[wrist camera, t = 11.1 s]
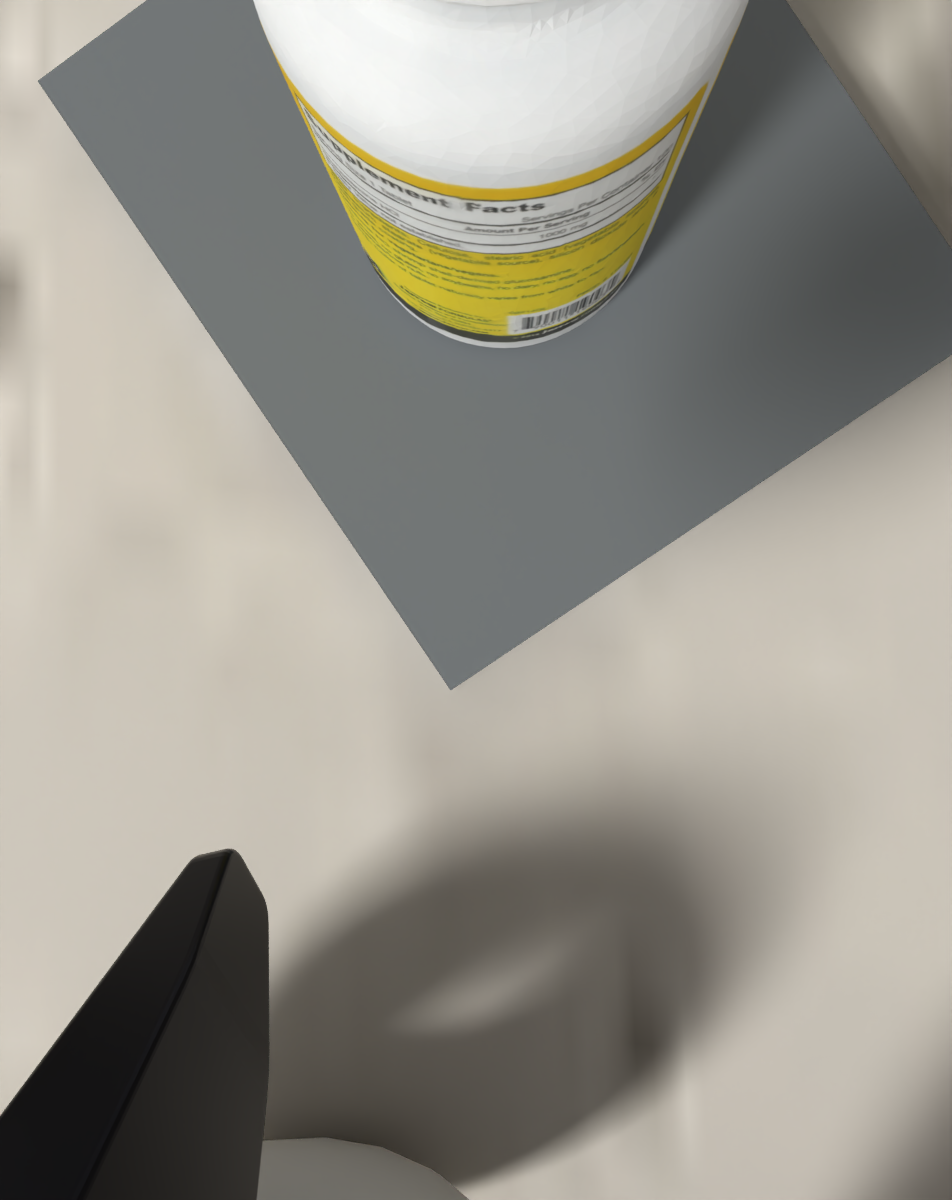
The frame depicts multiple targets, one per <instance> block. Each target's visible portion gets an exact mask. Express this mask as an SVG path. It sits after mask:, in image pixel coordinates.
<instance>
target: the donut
mask: <svg viewBox="0 0 952 1200" xmlns="http://www.w3.org/2000/svg"><path fill="white" fill-rule="evenodd" d="M257 1200H469V1199H468V1198H467V1197H466V1196H464V1195H463V1194H462V1193H461V1192H460V1191H459V1190H457V1189H456V1188H455V1187H454V1186H453V1185H452V1184H450V1183H449V1182H448V1181H447V1180H446V1179H445V1178H443V1177H442V1176H441V1175H439V1174H438V1173H436V1172H435V1171H433V1170H432V1169H430V1168H428V1167H425V1166H423V1165H421V1164H419V1163H416V1162H414V1161H412V1160H410V1159H407V1158H405V1157H403V1156H401V1155H399V1154H396V1153H394V1152H392V1151H390V1150H387V1149H385V1148H383V1147H379V1146H374V1145H368V1144H362V1143H356V1142H350V1141H344V1140H338V1139H332V1138H326V1137H321V1138H303V1139H285V1140H266V1141H263V1144H262V1154H261V1164H260V1174H259V1184H258V1194H257Z"/></svg>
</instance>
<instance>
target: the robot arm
mask: <svg viewBox="0 0 952 1200" xmlns="http://www.w3.org/2000/svg"><path fill="white" fill-rule="evenodd" d="M268 1078H269V923H268V911H267V906H266V902H265V899H264V897H263V894H262V893H261V891H260V889H259V887H258V885H257V884H256V882H255V880H254V878H253V876H252V875H251V873H250V871H249V869H248V868H247V866H246V864H245V862H244V860H243V859H242V857H241V856H240V854H239V853H238V852H237V851H236V850H234V849H224V850H219V851H215V852H211V853H206V854H202V855H198V856H196V857H194V858H193V859H192V860H191V861H190V862H189V863H188V864H187V865H186V867H185V868H184V869H183V871H182V872H181V873H180V875H179V876H178V878H177V879H176V880H175V882H174V883H173V884H172V886H171V887H170V888H169V890H168V891H167V892H166V894H165V895H164V896H163V898H162V899H161V900H160V902H159V903H158V904H157V906H156V907H155V908H154V910H153V911H152V912H151V914H150V915H149V917H148V918H147V919H146V921H145V922H144V923H143V925H142V926H141V927H140V929H139V930H138V931H137V933H136V934H135V935H134V937H133V938H132V939H131V941H130V942H129V943H128V945H127V946H126V947H125V949H124V950H123V951H122V953H121V954H120V956H119V957H118V958H117V960H116V961H115V962H114V964H113V965H112V966H111V968H110V969H109V970H108V972H107V973H106V974H105V976H104V977H103V978H102V980H101V981H100V982H99V984H98V985H97V986H96V988H95V989H94V990H93V992H92V993H91V994H90V996H89V997H88V999H87V1000H86V1001H85V1003H84V1004H83V1005H82V1007H81V1008H80V1009H79V1011H78V1012H77V1013H76V1015H75V1016H74V1017H73V1019H72V1020H71V1021H70V1023H69V1024H68V1025H67V1027H66V1028H65V1029H64V1031H63V1032H62V1033H61V1035H60V1036H59V1038H58V1039H57V1040H56V1042H55V1043H54V1044H53V1046H52V1047H51V1048H50V1050H49V1051H48V1052H47V1054H46V1055H45V1056H44V1058H43V1059H42V1060H41V1062H40V1063H39V1064H38V1066H37V1067H36V1068H35V1070H34V1071H33V1072H32V1074H31V1075H30V1076H29V1078H28V1079H27V1081H26V1082H25V1083H24V1085H23V1086H22V1087H21V1089H20V1090H19V1091H18V1093H17V1094H16V1095H15V1097H14V1098H13V1099H12V1101H11V1102H10V1103H9V1105H8V1106H7V1107H6V1109H5V1110H4V1111H3V1113H2V1114H1V1115H0V1200H257V1194H258V1184H259V1174H260V1164H261V1154H262V1144H263V1134H264V1123H265V1113H266V1103H267V1092H268Z"/></svg>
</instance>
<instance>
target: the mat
mask: <svg viewBox="0 0 952 1200" xmlns="http://www.w3.org/2000/svg"><path fill="white" fill-rule="evenodd" d="M38 82H39V84H40V85H41V87H42V88H43V90H44V91H45V93H46V94H47V95H48V97H49V98H50V100H51V101H52V103H53V104H54V106H55V107H56V109H57V110H58V112H59V113H60V115H61V116H62V118H63V119H64V121H65V122H66V123H67V125H68V126H69V128H70V129H71V131H72V132H73V134H74V135H75V137H76V138H77V140H78V141H79V143H80V144H81V146H82V147H83V149H84V150H85V152H86V153H87V154H88V156H89V157H90V159H91V160H92V162H93V163H94V165H95V166H96V168H97V169H98V171H99V172H100V174H101V175H102V177H103V178H104V180H105V181H106V183H107V184H108V185H109V187H110V188H111V190H112V191H113V193H114V194H115V196H116V197H117V199H118V200H119V202H120V203H121V205H122V206H123V208H124V209H125V211H126V212H127V213H128V215H129V216H130V218H131V219H132V221H133V222H134V224H135V225H136V227H137V228H138V230H139V231H140V233H141V234H142V236H143V237H144V239H145V240H146V242H147V243H148V244H149V246H150V247H151V249H152V250H153V252H154V253H155V255H156V256H157V258H158V259H159V261H160V262H161V264H162V265H163V267H164V268H165V270H166V271H167V273H168V274H169V275H170V277H171V278H172V280H173V281H174V283H175V284H176V286H177V287H178V289H179V290H180V292H181V293H182V295H183V296H184V298H185V299H186V301H187V302H188V303H189V305H190V306H191V308H192V309H193V311H194V312H195V314H196V315H197V317H198V318H199V320H200V321H201V323H202V324H203V326H204V327H205V329H206V330H207V332H208V333H209V334H210V336H211V337H212V339H213V340H214V342H215V343H216V345H217V346H218V348H219V349H220V351H221V352H222V354H223V355H224V357H225V358H226V360H227V361H228V363H229V364H230V365H231V367H232V368H233V370H234V371H235V373H236V374H237V376H238V377H239V379H240V380H241V382H242V383H243V385H244V386H245V388H246V389H247V391H248V392H249V393H250V395H251V396H252V398H253V399H254V401H255V402H256V404H257V405H258V407H259V408H260V410H261V411H262V413H263V414H264V416H265V417H266V419H267V420H268V422H269V423H270V424H271V426H272V427H273V429H274V430H275V432H276V433H277V435H278V436H279V438H280V439H281V441H282V442H283V444H284V445H285V447H286V448H287V450H288V451H289V452H290V454H291V455H292V457H293V458H294V460H295V461H296V463H297V464H298V466H299V467H300V469H301V470H302V472H303V473H304V475H305V476H306V478H307V479H308V481H309V482H310V483H311V485H312V486H313V488H314V489H315V491H316V492H317V494H318V495H319V497H320V498H321V500H322V501H323V503H324V504H325V506H326V507H327V509H328V510H329V512H330V513H331V514H332V516H333V517H334V519H335V520H336V522H337V523H338V525H339V526H340V528H341V529H342V531H343V532H344V534H345V535H346V537H347V538H348V540H349V541H350V542H351V544H352V545H353V547H354V548H355V550H356V551H357V553H358V554H359V556H360V557H361V559H362V560H363V562H364V563H365V565H366V566H367V568H368V569H369V571H370V572H371V573H372V575H373V576H374V578H375V579H376V581H377V582H378V584H379V585H380V587H381V588H382V590H383V591H384V593H385V594H386V596H387V597H388V599H389V600H390V602H391V603H392V604H393V606H394V607H395V609H396V610H397V612H398V613H399V615H400V616H401V618H402V619H403V621H404V622H405V624H406V625H407V627H408V628H409V630H410V631H411V632H412V634H413V635H414V637H415V638H416V640H417V641H418V643H419V644H420V646H421V647H422V649H423V650H424V652H425V653H426V655H427V656H428V658H429V659H430V661H431V662H432V663H433V665H434V666H435V668H436V669H437V671H438V672H439V674H440V675H441V677H442V678H443V680H444V681H445V683H446V684H447V686H448V687H449V689H450V690H452V689H453V688H455V687H456V686H458V685H459V684H461V683H462V682H464V681H465V680H467V679H468V678H470V677H471V676H473V675H474V674H476V673H477V672H479V671H480V670H482V669H483V668H485V667H486V666H488V665H489V664H491V663H492V662H494V661H495V660H497V659H498V658H500V657H501V656H503V655H504V654H506V653H507V652H509V651H510V650H512V649H513V648H515V647H516V646H518V645H519V644H521V643H522V642H524V641H525V640H527V639H528V638H530V637H531V636H533V635H534V634H536V633H537V632H539V631H540V630H541V629H543V628H544V627H546V626H547V625H549V624H550V623H552V622H553V621H555V620H556V619H558V618H559V617H561V616H562V615H564V614H565V613H567V612H568V611H570V610H571V609H573V608H574V607H576V606H577V605H579V604H580V603H582V602H583V601H585V600H586V599H588V598H589V597H591V596H592V595H594V594H595V593H597V592H598V591H600V590H601V589H603V588H604V587H606V586H607V585H609V584H610V583H612V582H613V581H615V580H616V579H618V578H619V577H621V576H622V575H624V574H625V573H627V572H628V571H630V570H631V569H633V568H634V567H636V566H637V565H638V564H640V563H641V562H643V561H644V560H646V559H647V558H649V557H650V556H652V555H653V554H655V553H656V552H658V551H659V550H661V549H662V548H664V547H665V546H667V545H668V544H670V543H671V542H673V541H674V540H676V539H677V538H679V537H680V536H682V535H683V534H685V533H686V532H688V531H689V530H691V529H692V528H694V527H695V526H697V525H698V524H700V523H701V522H703V521H704V520H706V519H707V518H709V517H710V516H712V515H713V514H715V513H716V512H718V511H719V510H721V509H722V508H724V507H725V506H727V505H728V504H730V503H731V502H733V501H734V500H736V499H737V498H738V497H740V496H741V495H743V494H744V493H746V492H747V491H749V490H750V489H752V488H753V487H755V486H756V485H758V484H759V483H761V482H762V481H764V480H765V479H767V478H768V477H770V476H771V475H773V474H774V473H776V472H777V471H779V470H780V469H782V468H783V467H785V466H786V465H788V464H789V463H791V462H792V461H794V460H795V459H797V458H798V457H800V456H801V455H803V454H804V453H806V452H807V451H809V450H810V449H812V448H813V447H815V446H816V445H818V444H819V443H821V442H822V441H824V440H825V439H827V438H828V437H830V436H831V435H833V434H834V433H835V432H837V431H838V430H840V429H841V428H843V427H844V426H846V425H847V424H849V423H850V422H852V421H853V420H855V419H856V418H858V417H859V416H861V415H862V414H864V413H865V412H867V411H868V410H870V409H871V408H873V407H874V406H876V405H877V404H879V403H880V402H882V401H883V400H885V399H886V398H888V397H889V396H891V395H892V394H894V393H895V392H897V391H898V390H900V389H901V388H903V387H904V386H906V385H907V384H909V383H910V382H912V381H913V380H915V379H916V378H918V377H919V376H921V375H922V374H924V373H925V372H927V371H928V370H930V369H931V368H932V367H934V366H935V365H937V364H938V363H940V362H941V361H943V360H944V359H946V358H947V357H949V356H950V355H952V249H951V248H950V246H949V245H948V243H947V242H946V240H945V239H944V237H943V236H942V234H941V233H940V231H939V230H938V228H937V227H936V225H935V224H934V222H933V221H932V219H931V218H930V216H929V215H928V213H927V212H926V210H925V209H924V207H923V206H922V204H921V203H920V201H919V200H918V198H917V197H916V195H915V194H914V192H913V191H912V189H911V188H910V186H909V185H908V183H907V182H906V180H905V179H904V177H903V176H902V174H901V173H900V171H899V170H898V168H897V167H896V165H895V164H894V162H893V161H892V159H891V158H890V156H889V155H888V153H887V152H886V150H885V149H884V147H883V146H882V144H881V143H880V141H879V140H878V138H877V137H876V135H875V134H874V132H873V131H872V129H871V128H870V126H869V125H868V123H867V122H866V120H865V119H864V117H863V116H862V114H861V113H860V111H859V110H858V108H857V107H856V105H855V104H854V102H853V101H852V99H851V98H850V96H849V95H848V93H847V92H846V90H845V89H844V87H843V86H842V84H841V83H840V81H839V79H838V78H837V76H836V75H835V73H834V72H833V70H832V69H831V67H830V66H829V64H828V63H827V61H826V60H825V58H824V57H823V55H822V54H821V52H820V51H819V49H818V48H817V46H816V45H815V43H814V42H813V40H812V39H811V37H810V36H809V34H808V33H807V31H806V30H805V28H804V27H803V25H802V24H801V22H800V21H799V19H798V18H797V16H796V15H795V13H794V12H793V10H792V9H791V7H790V6H789V4H788V3H787V1H786V0H749V1H748V4H747V7H746V9H745V12H744V15H743V17H742V20H741V22H740V25H739V27H738V30H737V32H736V34H735V37H734V39H733V42H732V44H731V46H730V49H729V51H728V53H727V56H726V58H725V61H724V63H723V65H722V68H721V70H720V72H719V75H718V77H717V79H716V81H715V84H714V86H713V88H712V91H711V93H710V95H709V97H708V100H707V102H706V104H705V107H704V109H703V111H702V113H701V116H700V118H699V120H698V123H697V125H696V127H695V129H694V132H693V134H692V136H691V139H690V141H689V143H688V145H687V148H686V150H685V152H684V155H683V157H682V159H681V162H680V164H679V166H678V169H677V171H676V174H675V176H674V179H673V181H672V183H671V186H670V188H669V191H668V193H667V196H666V198H665V200H664V203H663V205H662V207H661V210H660V212H659V215H658V217H657V219H656V222H655V224H654V227H653V229H652V232H651V234H650V236H649V238H648V241H647V244H646V246H645V248H644V249H643V251H642V253H641V255H640V257H639V259H638V261H637V263H636V265H635V267H634V269H633V271H632V272H631V274H630V275H629V277H628V278H627V280H626V282H625V283H624V284H623V286H622V287H621V288H620V290H619V291H618V292H617V293H616V294H615V296H614V297H613V298H612V299H611V300H610V301H609V302H608V303H607V304H606V305H605V306H604V307H603V308H602V309H601V310H599V311H598V312H597V313H596V314H595V315H594V316H592V317H591V318H590V319H588V320H587V321H585V322H584V323H582V324H581V325H579V326H578V327H576V328H574V329H572V330H571V331H569V332H567V333H565V334H563V335H560V336H558V337H556V338H554V339H551V340H548V341H545V342H542V343H538V344H534V345H529V346H524V347H518V348H492V347H483V346H477V345H472V344H468V343H464V342H461V341H458V340H455V339H452V338H449V337H447V336H445V335H443V334H441V333H439V332H437V331H435V330H433V329H431V328H430V327H428V326H427V325H425V324H424V323H422V322H421V321H419V320H418V319H417V318H415V317H414V316H413V315H412V314H410V313H409V312H408V311H407V310H406V309H405V308H404V307H403V306H402V305H401V304H400V303H399V302H398V301H397V300H396V299H395V298H394V297H393V296H392V294H391V293H390V292H389V291H388V290H387V288H386V287H385V285H384V284H383V283H382V281H381V280H380V278H379V276H378V275H377V273H376V272H375V270H374V268H373V266H372V264H371V262H370V260H369V259H368V257H367V255H366V253H365V251H364V249H363V247H362V245H361V242H360V240H359V238H358V235H357V233H356V231H355V229H354V227H353V225H352V223H351V221H350V218H349V216H348V214H347V212H346V210H345V208H344V206H343V204H342V201H341V199H340V197H339V195H338V193H337V191H336V188H335V186H334V184H333V182H332V180H331V178H330V176H329V174H328V171H327V169H326V167H325V165H324V163H323V161H322V158H321V156H320V154H319V152H318V150H317V147H316V145H315V143H314V141H313V138H312V136H311V134H310V132H309V130H308V127H307V125H306V123H305V121H304V119H303V117H302V115H301V112H300V110H299V108H298V106H297V104H296V102H295V100H294V97H293V95H292V93H291V91H290V89H289V87H288V84H287V82H286V80H285V78H284V76H283V73H282V71H281V69H280V67H279V64H278V62H277V60H276V58H275V55H274V53H273V51H272V49H271V46H270V44H269V42H268V40H267V37H266V35H265V32H264V30H263V27H262V25H261V22H260V19H259V16H258V13H257V10H256V7H255V4H254V1H253V0H147V1H145V2H144V3H142V4H141V5H140V6H138V7H137V8H136V9H134V10H133V11H132V12H130V13H129V14H128V15H126V16H125V17H124V18H122V19H121V20H119V21H118V22H117V23H115V24H114V25H113V26H111V27H110V28H109V29H107V30H106V31H105V32H103V33H102V34H101V35H99V36H98V37H97V38H95V39H94V40H92V41H91V42H90V43H88V44H87V45H86V46H84V47H83V48H82V49H80V50H79V51H78V52H76V53H75V54H74V55H72V56H71V57H69V58H68V59H67V60H65V61H64V62H63V63H61V64H60V65H59V66H57V67H56V68H55V69H53V70H52V71H51V72H49V73H48V74H46V75H45V76H44V77H42V78H41V79H40V80H38Z"/></svg>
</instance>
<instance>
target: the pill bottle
mask: <svg viewBox="0 0 952 1200" xmlns="http://www.w3.org/2000/svg"><path fill="white" fill-rule="evenodd" d="M253 1H254V4H255V7H256V10H257V13H258V16H259V19H260V22H261V25H262V27H263V30H264V32H265V35H266V37H267V40H268V42H269V44H270V46H271V49H272V51H273V53H274V55H275V58H276V60H277V62H278V64H279V67H280V69H281V71H282V73H283V76H284V78H285V80H286V82H287V84H288V87H289V89H290V91H291V93H292V95H293V97H294V100H295V102H296V104H297V106H298V108H299V110H300V112H301V115H302V117H303V119H304V121H305V123H306V125H307V127H308V130H309V132H310V134H311V136H312V138H313V141H314V143H315V145H316V147H317V150H318V152H319V154H320V156H321V158H322V161H323V163H324V165H325V167H326V169H327V171H328V174H329V176H330V178H331V180H332V182H333V184H334V186H335V188H336V191H337V193H338V195H339V197H340V199H341V201H342V204H343V206H344V208H345V210H346V212H347V214H348V216H349V218H350V221H351V223H352V225H353V227H354V229H355V231H356V233H357V235H358V238H359V240H360V242H361V245H362V247H363V249H364V251H365V253H366V255H367V257H368V259H369V260H370V262H371V264H372V266H373V268H374V270H375V272H376V273H377V275H378V276H379V278H380V280H381V281H382V283H383V284H384V285H385V287H386V288H387V290H388V291H389V292H390V293H391V294H392V296H393V297H394V298H395V299H396V300H397V301H398V302H399V303H400V304H401V305H402V306H403V307H404V308H405V309H406V310H407V311H408V312H409V313H410V314H412V315H413V316H414V317H415V318H417V319H418V320H419V321H421V322H422V323H424V324H425V325H427V326H428V327H430V328H431V329H433V330H435V331H437V332H439V333H441V334H443V335H445V336H447V337H449V338H452V339H455V340H458V341H461V342H464V343H468V344H472V345H477V346H483V347H492V348H518V347H524V346H529V345H534V344H538V343H542V342H545V341H548V340H551V339H554V338H556V337H558V336H560V335H563V334H565V333H567V332H569V331H571V330H572V329H574V328H576V327H578V326H579V325H581V324H582V323H584V322H585V321H587V320H588V319H590V318H591V317H592V316H594V315H595V314H596V313H597V312H598V311H599V310H601V309H602V308H603V307H604V306H605V305H606V304H607V303H608V302H609V301H610V300H611V299H612V298H613V297H614V296H615V294H616V293H617V292H618V291H619V290H620V288H621V287H622V286H623V284H624V283H625V282H626V280H627V278H628V277H629V275H630V274H631V272H632V271H633V269H634V267H635V265H636V263H637V261H638V259H639V257H640V255H641V253H642V251H643V249H644V248H645V246H646V244H647V241H648V238H649V236H650V234H651V232H652V229H653V227H654V224H655V222H656V219H657V217H658V215H659V212H660V210H661V207H662V205H663V203H664V200H665V198H666V196H667V193H668V191H669V188H670V186H671V183H672V181H673V179H674V176H675V174H676V171H677V169H678V166H679V164H680V162H681V159H682V157H683V155H684V152H685V150H686V148H687V145H688V143H689V141H690V139H691V136H692V134H693V132H694V129H695V127H696V125H697V123H698V120H699V118H700V116H701V113H702V111H703V109H704V107H705V104H706V102H707V100H708V97H709V95H710V93H711V91H712V88H713V86H714V84H715V81H716V79H717V77H718V75H719V72H720V70H721V68H722V65H723V63H724V61H725V58H726V56H727V53H728V51H729V49H730V46H731V44H732V42H733V39H734V37H735V34H736V32H737V30H738V27H739V25H740V22H741V20H742V17H743V15H744V12H745V9H746V7H747V4H748V1H749V0H253Z"/></svg>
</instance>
